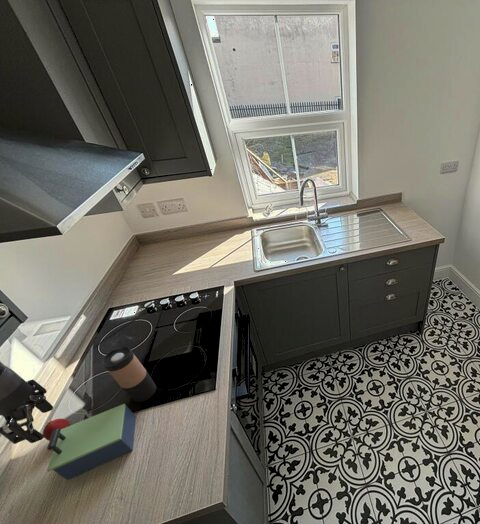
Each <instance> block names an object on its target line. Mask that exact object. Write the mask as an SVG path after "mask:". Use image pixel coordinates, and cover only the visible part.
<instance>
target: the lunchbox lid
mask: <svg viewBox="0 0 480 524" xmlns="http://www.w3.org/2000/svg"><path fill="white" fill-rule="evenodd" d="M125 406H127V404H126V403H122V404H120V405H118V406H115V407H113V408H110V409H107V410H105V411H103V412H100V413H98V414H95V415H93V416H90V417H88V418H85V419H83V420H81V421H78V422H76V423H73V424H70V426H68V427H66V428H63V429H61V430H60V429H55V430H53V432H52V435H51V438H50V441H49V440H48V444H47V449H46V450H47V451H52V453H51V456H50V458H49V462H48V465H47V468H46V471H47V472H52V471H53V470H54V469H56V468H58V467H61V466H63V465H65V464H67V463H70V462H72V461H74V460H76V459H79V458H81V457H83V456H85V455H88V454H90V453H92V452H94V451H97V450H99V449H101V448H103V447H106V446H108V445H110V444H112V443H115V442H117V441H119V440H121V437H122V430H123V422H124V414H125Z"/></svg>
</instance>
